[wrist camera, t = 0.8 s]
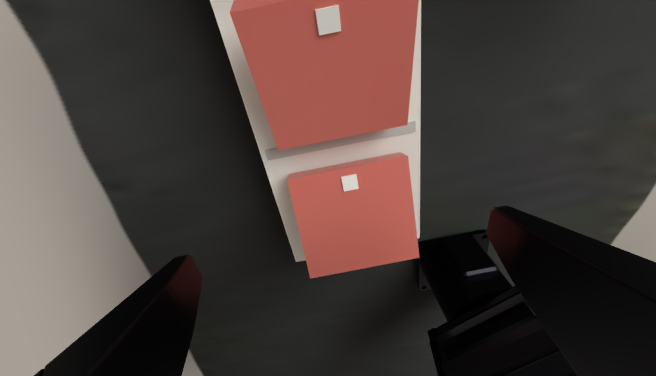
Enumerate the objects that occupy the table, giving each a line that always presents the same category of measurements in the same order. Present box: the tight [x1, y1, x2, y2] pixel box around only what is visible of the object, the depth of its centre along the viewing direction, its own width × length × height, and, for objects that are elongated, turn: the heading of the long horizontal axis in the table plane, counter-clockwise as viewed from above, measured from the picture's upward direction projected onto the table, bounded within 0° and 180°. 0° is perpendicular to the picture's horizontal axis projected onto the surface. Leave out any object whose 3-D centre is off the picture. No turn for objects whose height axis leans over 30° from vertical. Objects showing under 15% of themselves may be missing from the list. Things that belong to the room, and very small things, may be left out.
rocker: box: [287, 152, 419, 279], centre depth 16 cm, size 6×6×2 cm
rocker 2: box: [230, 0, 419, 150], centre depth 12 cm, size 6×6×2 cm
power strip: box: [210, 0, 421, 262], centre depth 16 cm, size 28×9×4 cm, turn 10°
